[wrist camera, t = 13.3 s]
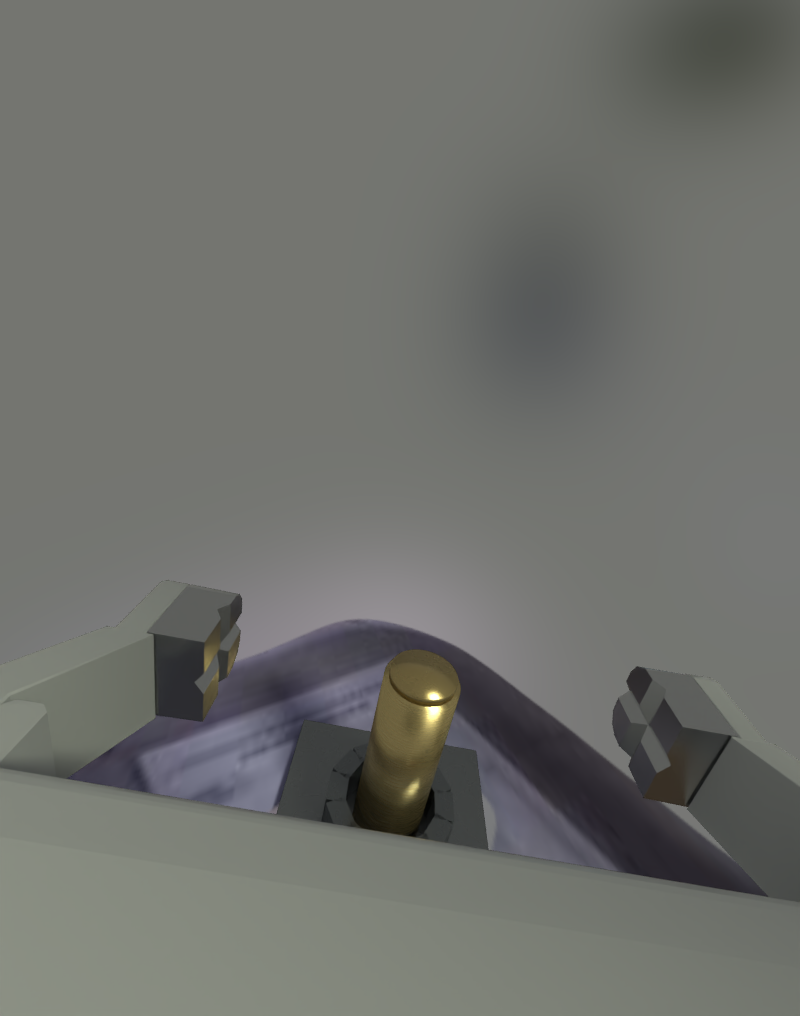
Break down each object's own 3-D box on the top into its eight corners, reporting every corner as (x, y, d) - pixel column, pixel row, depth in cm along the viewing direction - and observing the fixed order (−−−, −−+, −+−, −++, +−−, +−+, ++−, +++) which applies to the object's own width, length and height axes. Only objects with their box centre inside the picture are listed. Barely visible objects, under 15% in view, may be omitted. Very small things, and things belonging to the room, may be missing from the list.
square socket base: (474, 754, 43) (484, 726, 42) (502, 982, 28) (518, 950, 27) (303, 723, 43) (308, 694, 41) (240, 938, 28) (244, 904, 27)
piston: (417, 797, 38) (459, 654, 32) (416, 864, 33) (466, 710, 28) (355, 786, 38) (388, 640, 32) (346, 852, 33) (382, 694, 27)
